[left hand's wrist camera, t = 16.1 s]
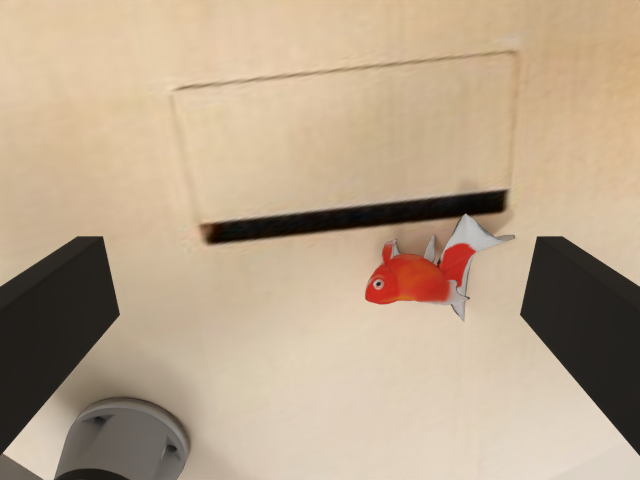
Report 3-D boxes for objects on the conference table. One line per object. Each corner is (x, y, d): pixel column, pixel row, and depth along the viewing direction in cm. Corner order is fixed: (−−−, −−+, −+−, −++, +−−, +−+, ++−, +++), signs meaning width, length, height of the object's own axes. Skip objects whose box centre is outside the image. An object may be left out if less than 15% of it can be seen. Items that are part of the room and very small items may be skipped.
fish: (356, 200, 36) (419, 276, 30) (484, 177, 42) (561, 235, 36) (339, 282, 43) (388, 357, 37) (451, 252, 49) (511, 312, 43)
